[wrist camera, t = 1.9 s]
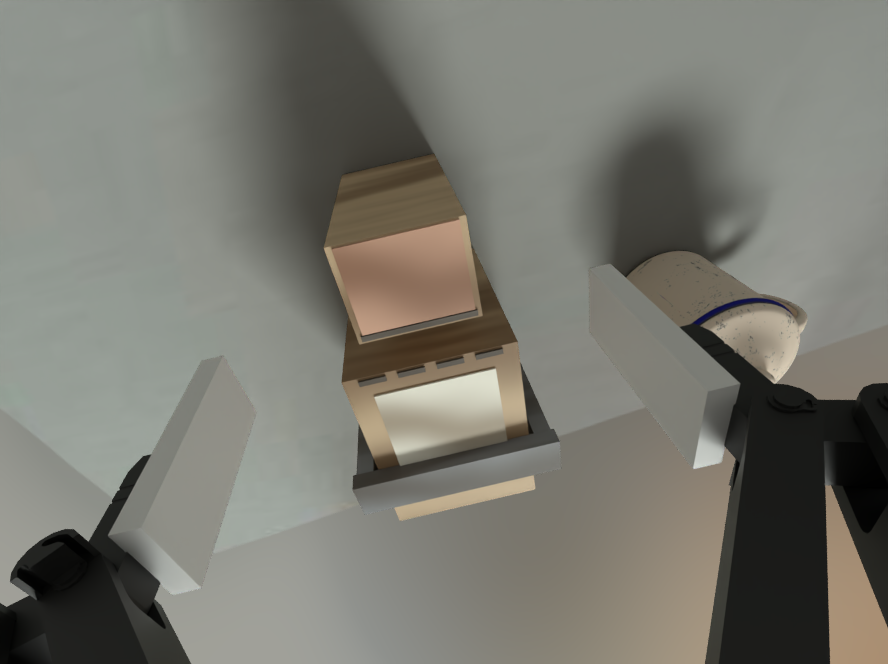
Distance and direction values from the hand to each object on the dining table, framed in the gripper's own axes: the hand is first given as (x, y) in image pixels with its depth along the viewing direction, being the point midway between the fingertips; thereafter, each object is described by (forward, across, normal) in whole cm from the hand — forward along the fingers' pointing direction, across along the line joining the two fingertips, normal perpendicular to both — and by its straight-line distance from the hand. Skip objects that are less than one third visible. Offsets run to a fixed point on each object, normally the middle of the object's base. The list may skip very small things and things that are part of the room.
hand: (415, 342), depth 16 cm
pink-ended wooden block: (+16, 0, 0) cm, 17 cm away
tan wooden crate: (+16, 0, -10) cm, 20 cm away
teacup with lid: (+17, +21, -12) cm, 29 cm away
